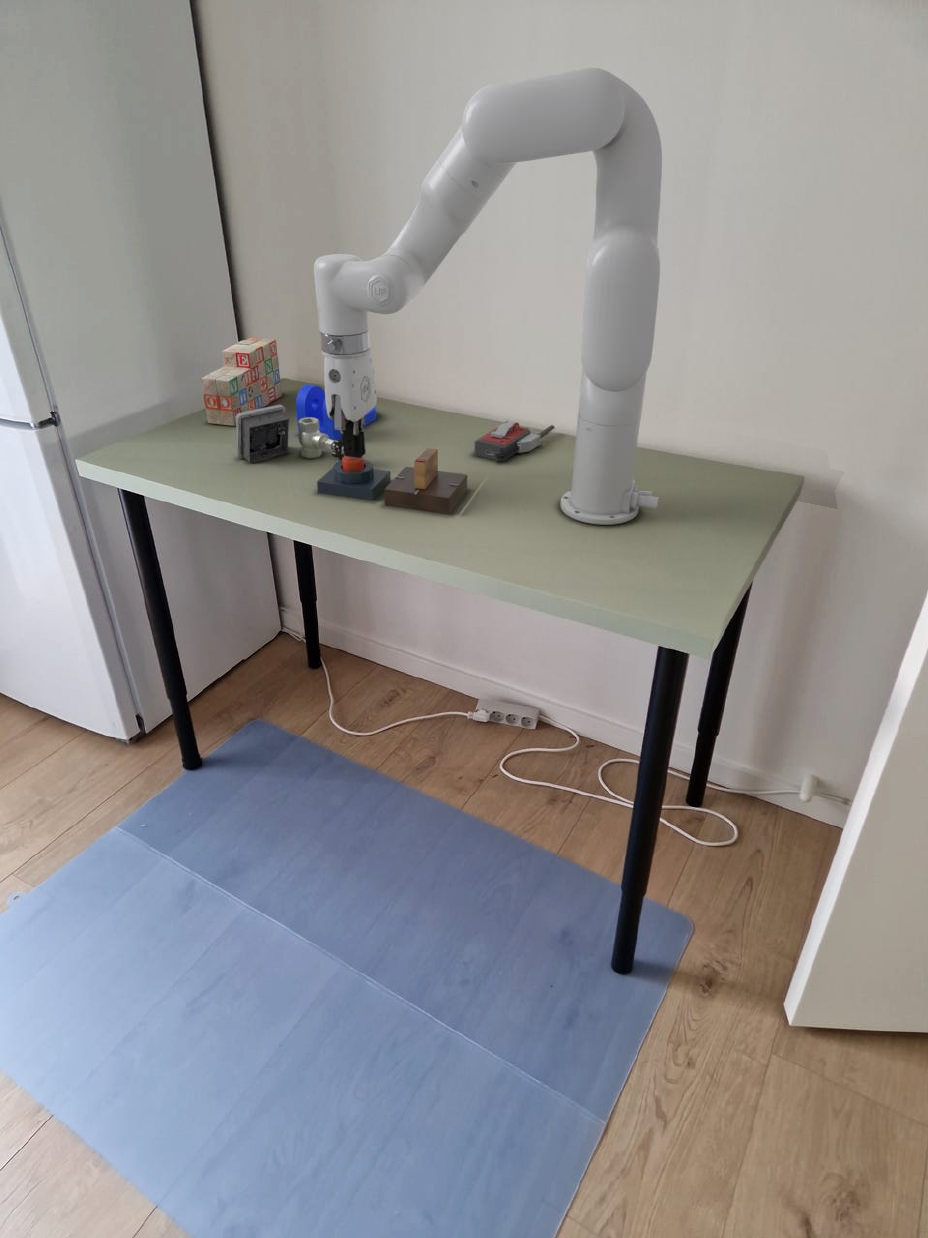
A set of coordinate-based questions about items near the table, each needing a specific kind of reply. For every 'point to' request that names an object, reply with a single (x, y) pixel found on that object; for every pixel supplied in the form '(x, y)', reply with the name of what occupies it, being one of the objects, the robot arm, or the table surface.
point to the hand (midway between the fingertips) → (354, 455)
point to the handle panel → (426, 492)
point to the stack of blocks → (242, 381)
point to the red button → (352, 463)
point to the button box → (354, 482)
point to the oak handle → (426, 468)
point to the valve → (317, 440)
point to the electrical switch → (262, 433)
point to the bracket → (321, 410)
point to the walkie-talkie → (508, 441)
